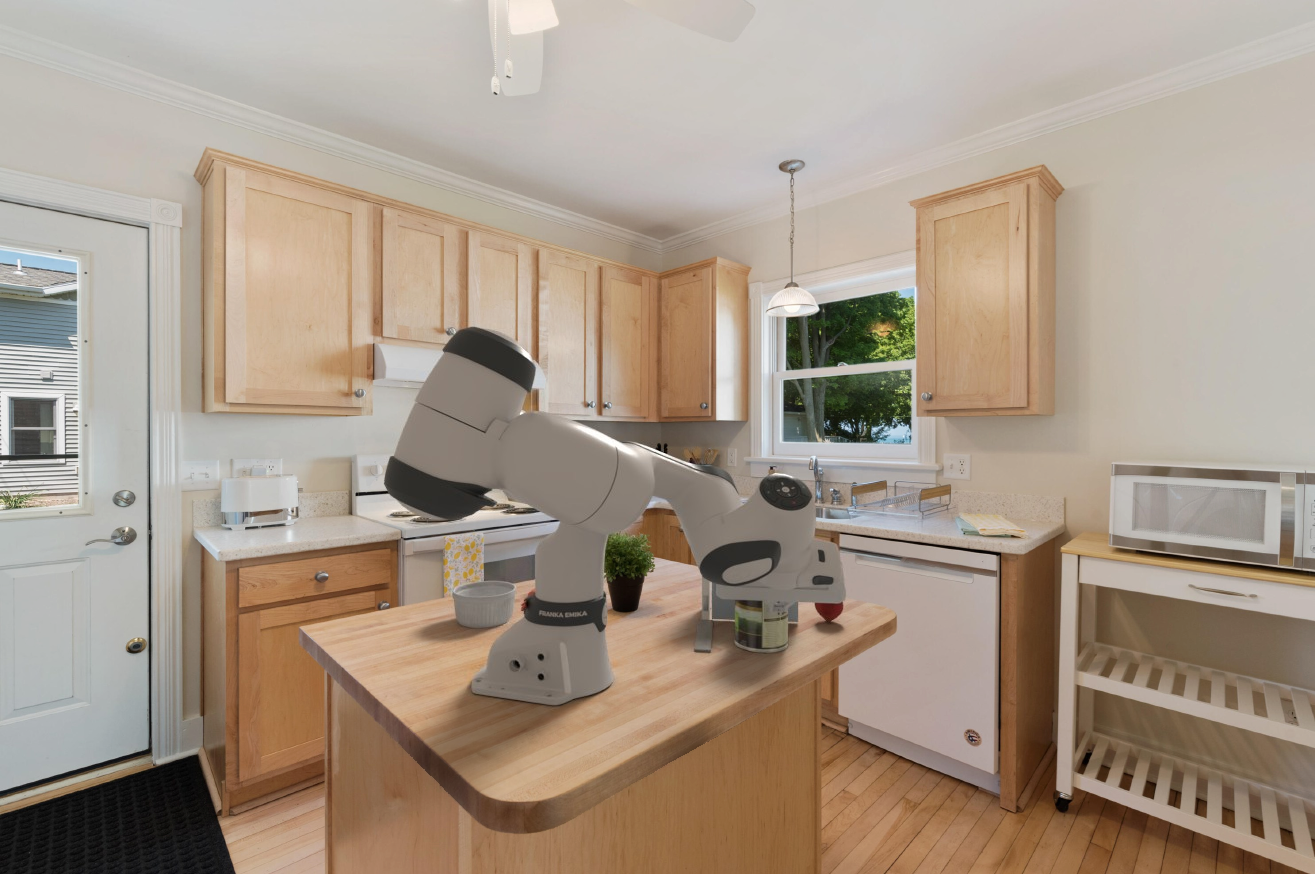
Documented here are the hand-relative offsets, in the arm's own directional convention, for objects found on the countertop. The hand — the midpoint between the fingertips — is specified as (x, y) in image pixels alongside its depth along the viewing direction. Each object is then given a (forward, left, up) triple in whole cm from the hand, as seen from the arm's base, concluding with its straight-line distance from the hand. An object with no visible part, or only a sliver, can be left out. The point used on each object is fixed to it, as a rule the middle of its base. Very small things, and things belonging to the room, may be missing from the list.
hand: (778, 608), depth 103 cm
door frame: (-13, +23, -11) cm, 29 cm away
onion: (+13, +30, -11) cm, 35 cm away
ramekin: (-60, +23, -12) cm, 65 cm away
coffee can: (-2, +15, -11) cm, 19 cm away
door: (-3, +27, -11) cm, 29 cm away
